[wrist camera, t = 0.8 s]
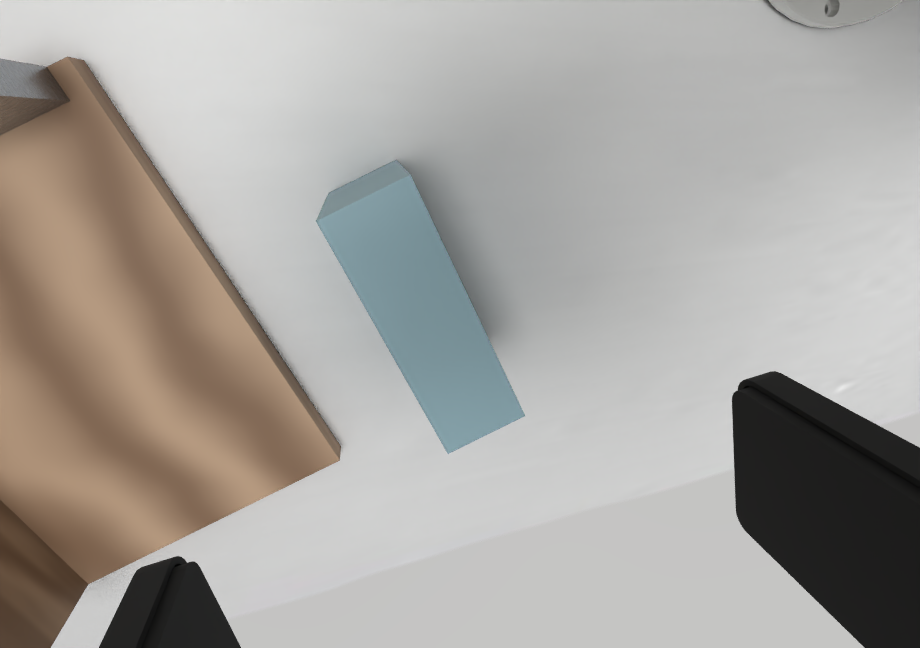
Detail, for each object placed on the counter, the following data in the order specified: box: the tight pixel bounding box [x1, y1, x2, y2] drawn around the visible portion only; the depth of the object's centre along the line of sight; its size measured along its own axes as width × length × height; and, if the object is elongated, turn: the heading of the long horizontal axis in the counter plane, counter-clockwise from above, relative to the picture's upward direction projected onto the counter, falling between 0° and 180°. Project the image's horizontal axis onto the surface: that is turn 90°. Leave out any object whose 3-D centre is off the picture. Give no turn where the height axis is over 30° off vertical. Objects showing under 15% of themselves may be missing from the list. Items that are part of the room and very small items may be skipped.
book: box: [316, 160, 525, 454], centre depth 27 cm, size 4×12×9 cm, turn 25°
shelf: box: [0, 57, 341, 648], centre depth 26 cm, size 18×24×8 cm
